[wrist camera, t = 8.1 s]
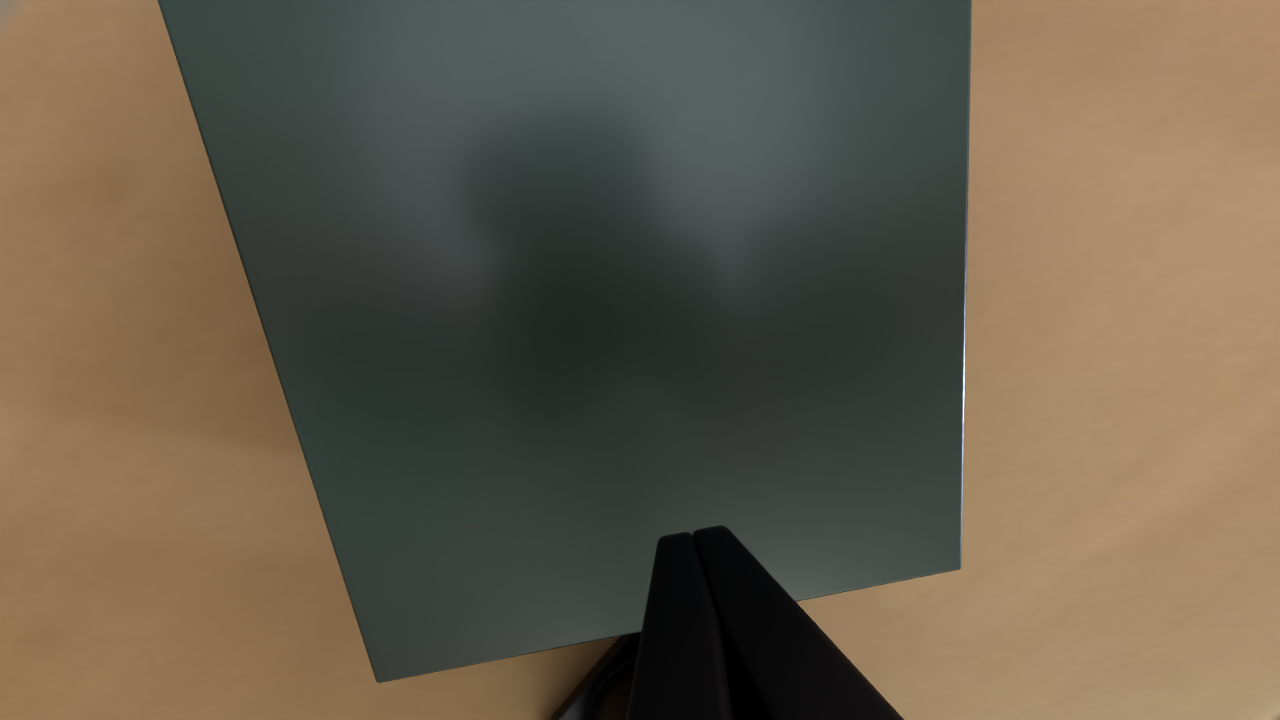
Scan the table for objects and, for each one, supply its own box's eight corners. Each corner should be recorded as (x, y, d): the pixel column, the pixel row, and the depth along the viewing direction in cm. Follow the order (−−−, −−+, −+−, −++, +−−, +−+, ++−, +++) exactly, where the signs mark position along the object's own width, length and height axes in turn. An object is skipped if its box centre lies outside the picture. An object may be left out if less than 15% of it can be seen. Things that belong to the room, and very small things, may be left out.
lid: (140, -124, 10) (108, -142, 9) (948, -217, 11) (978, -240, 10) (383, 655, 15) (376, 685, 14) (942, 548, 16) (963, 570, 15)
